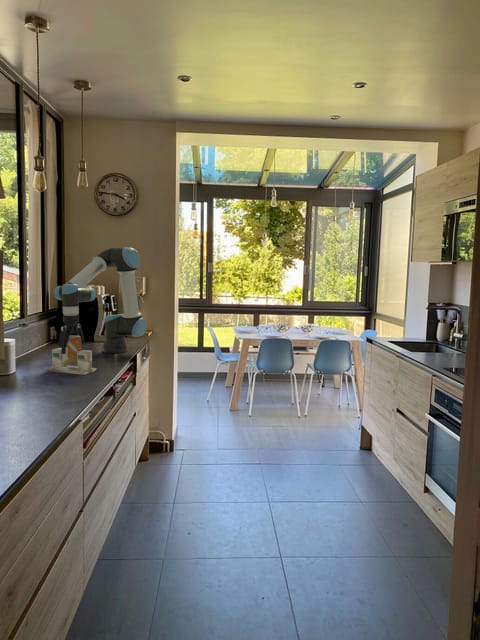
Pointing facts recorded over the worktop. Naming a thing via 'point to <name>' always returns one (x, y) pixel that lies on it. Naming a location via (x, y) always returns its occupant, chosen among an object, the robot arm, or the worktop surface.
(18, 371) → the worktop surface
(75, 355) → the small box
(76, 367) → the cream u-shaped bracket
